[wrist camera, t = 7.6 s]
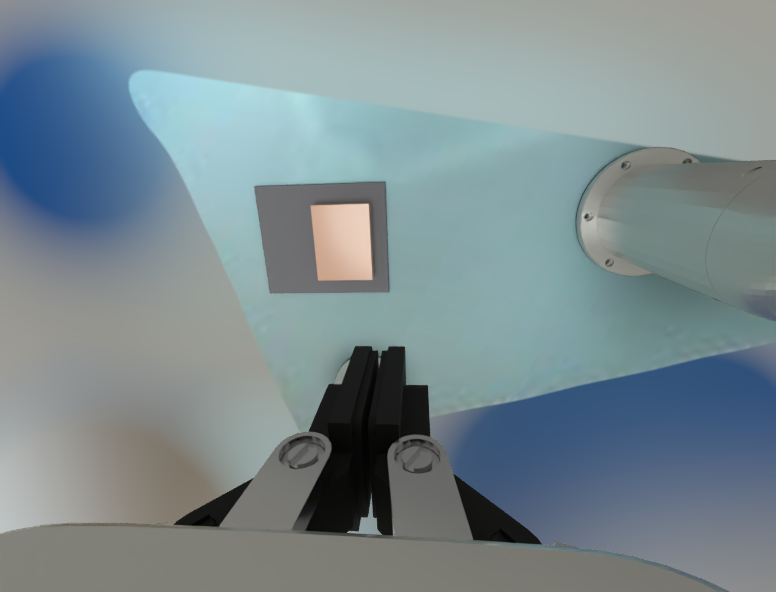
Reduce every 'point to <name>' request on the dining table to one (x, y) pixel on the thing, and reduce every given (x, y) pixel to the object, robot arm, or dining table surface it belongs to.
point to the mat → (296, 240)
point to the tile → (343, 241)
